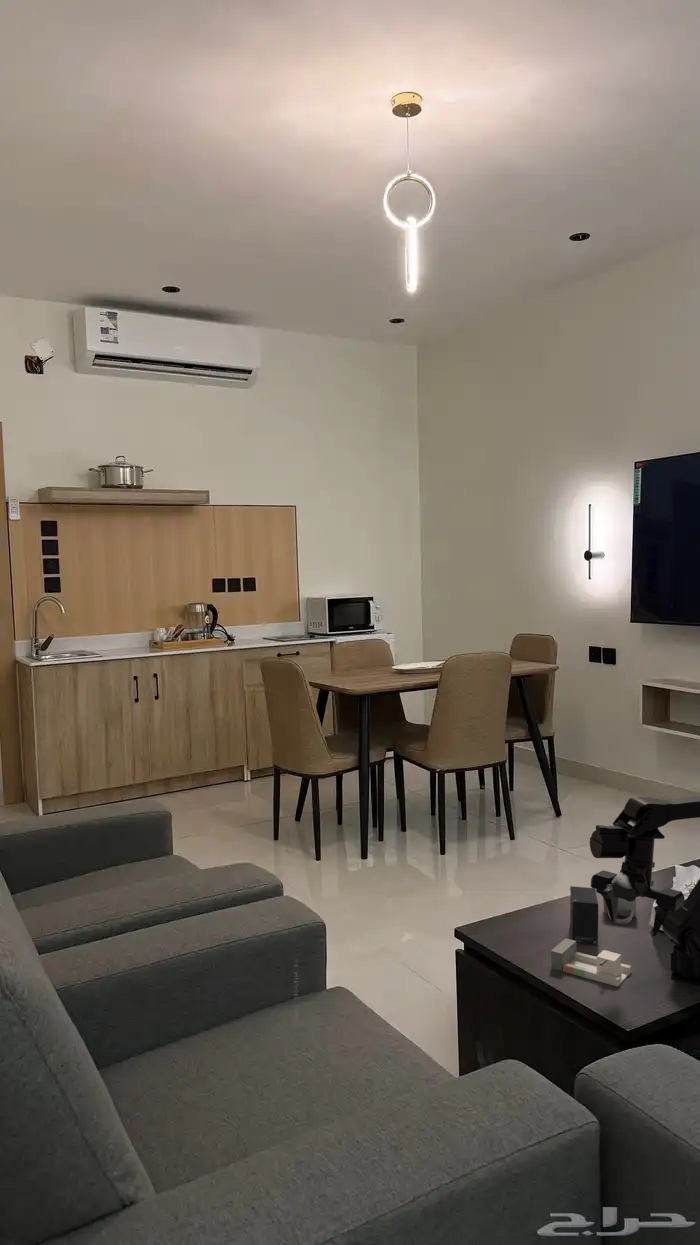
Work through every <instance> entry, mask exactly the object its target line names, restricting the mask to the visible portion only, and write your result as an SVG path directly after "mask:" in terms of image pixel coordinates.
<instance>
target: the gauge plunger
mask: <svg viewBox="0 0 700 1245" xmlns="http://www.w3.org/2000/svg"><path fill="white" fill-rule="evenodd" d="M596 957H597V972H601V973H604V974H608V975H612V976H615V977H617V976H618V975H619V974H620V973H621V963H622V954H620V953H616V952H612V951H609V950H606V949H605V950H604V949H603V950H602V951H601V952H600V953H599V954H598V955H597V956H596Z"/></svg>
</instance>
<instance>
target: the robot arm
mask: <svg viewBox="0 0 700 1245" xmlns="http://www.w3.org/2000/svg"><path fill="white" fill-rule="evenodd" d="M698 818H700V795H699V796H688V797H681V798H671V799H660V798H659V799H658V798H655V797H654V798H653V797H645V796H632V797H630V798H629V799H628V800H627V802H626V803H625V806H624V808H623V809H622V810H621V812H620V813H619V814H618V816H617V817H616V818H615V819H614V821H613V822H612V825H603V824H601V825H600V824H597V825H596V826H595V830H594V831H592V833H591V836H590V837H589V847H590V848H589V850H590V851H591V854H592V856H593V857H594V859H623V858H624V860H623V861H622V863H621V867H620V868H621V869H620V871H619V872H618V873H616V872H615V873H614V872H611V871H607V870H601V871H599V872H597V873H595V874H593V875H592V876H591V878H590V888H595V890H596V894H600V895H601V896H602V898H603V897H604V899H605V902H606V904H607V908H608V911H609V915H610V918H611V919H610V918H609V919H610V921H611V923H612V924H616V923H615V922H616V919H617V916H618V915H617V908H618V898H621V899H625V900H626V901H629V902H632V901H634V900H635V899H636V900H637V898H638V897H640V898H648V899H652V900H655V904H656V906H654V907H653V909H654V914H655V915H654V922H653V927H652V936H653V937H656V936H657V935H658V933H659V931H660V929H661V928H662V931H663V933H664V934H665V935H666V936H668V937H667V938H668V939H669V942H671V943H672V944H674V945H673V947H672V948H673V950H672V951H671V953H670V971H671V973H670V978H672V979H677V980H679V981H684V982H688V983H691V984H694V983H697V984H696V985H698V984H700V878H699V879H698V880H697V882H696V883H695V885H694V886H693V889H692V890H691V891H690V893H689V894H688V896H687V897H685V895H684V894H683V892H682V891H679V890H677V889H673V888H668V887H664V888H663V889H661V890H656V889H653V888H652V887H653V886H654V882H655V881H653V879H652V878H653V869H654V868H655V864H656V862H655V861H654V852H655V851H654V850H655V840H656V839H657V840H663V839H665V835H664V834H663V833H662V832H661V831H660V830H659V828H662V827H665V826H666V825H667V824H669V823H670V822H675V821H681V820H689V819H698ZM630 823H631V824H630ZM632 824H634V825H632ZM609 915H608V916H609Z"/></svg>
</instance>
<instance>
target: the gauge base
mask: <svg viewBox="0 0 700 1245" xmlns="http://www.w3.org/2000/svg"><path fill="white" fill-rule="evenodd" d="M550 962H551V963H550V965H551V966H550V969H552V970H557V971H560V972H564V973H568V974H572V975H575V976H577V977H578V976H579V977H582V978H586V979H588V980H592V981H597V982H600V983H604V984H606V985H611V986H615V987H617V988H618V987H619V986H621V984H622V983H623V982H624V981H625V980H626V979H627V978H628V976H630V975H631V974H632V966H631V965H630V964H627V963H622V962H621V973H620V974H619V975H618V976H617V977H615V976H612V975H608V974H604V973H601V972H597V956H594V955H591V954H587V953H583V952H579V951H577V944H576V941H574V940H571V938H566V937H565V938H564V939H563V940H562V941H561V942H559V943H558V944H557V945H556V946H555V947H554V948H552V949H551V951H550Z"/></svg>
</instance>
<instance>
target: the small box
mask: <svg viewBox="0 0 700 1245" xmlns="http://www.w3.org/2000/svg"><path fill="white" fill-rule="evenodd" d="M569 889H570V891H569V892H570V895H569V896H570V903H569V904H570V910H569V912H570V913H569V915H570V916H569V929H570V930H569V931H570V940H574V941H576V945H577V944H578V945H592V946H598V945H599V901H598V896H597V892H596V889H595V888H592V887H587V886H586V887H583V886H573V885H570V888H569Z"/></svg>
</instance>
